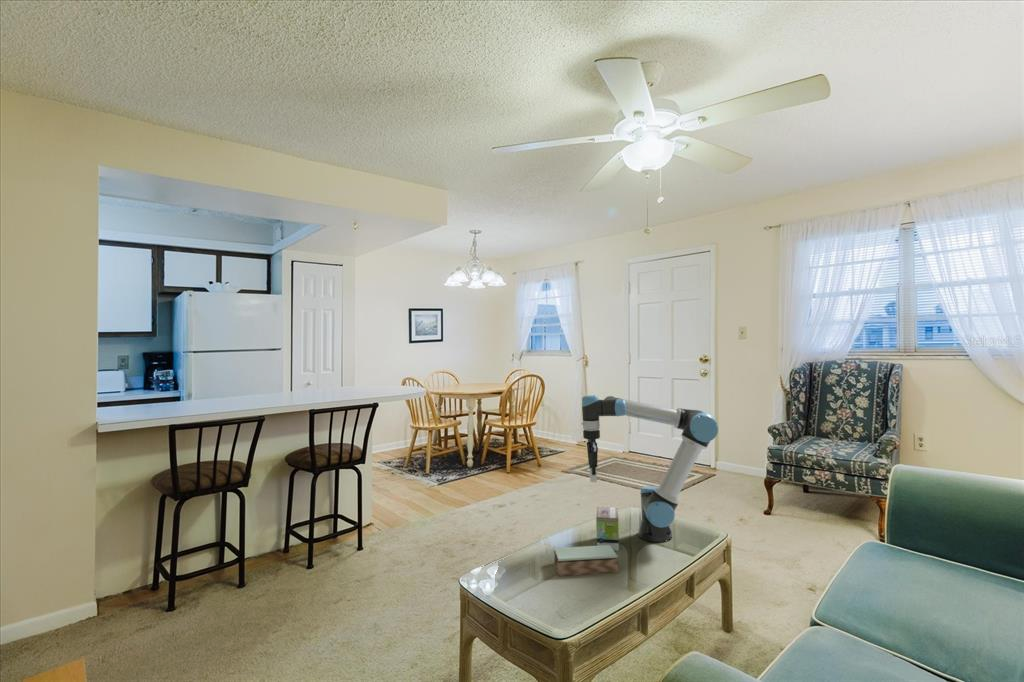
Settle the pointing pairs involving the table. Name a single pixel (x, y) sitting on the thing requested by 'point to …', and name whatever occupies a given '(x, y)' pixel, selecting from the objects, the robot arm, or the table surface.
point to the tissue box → (586, 566)
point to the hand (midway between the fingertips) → (593, 481)
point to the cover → (585, 553)
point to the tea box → (607, 527)
